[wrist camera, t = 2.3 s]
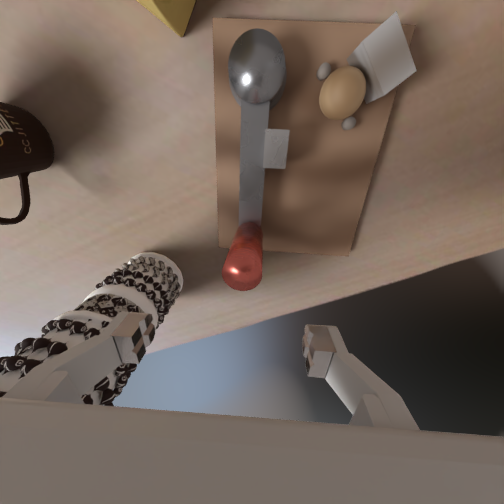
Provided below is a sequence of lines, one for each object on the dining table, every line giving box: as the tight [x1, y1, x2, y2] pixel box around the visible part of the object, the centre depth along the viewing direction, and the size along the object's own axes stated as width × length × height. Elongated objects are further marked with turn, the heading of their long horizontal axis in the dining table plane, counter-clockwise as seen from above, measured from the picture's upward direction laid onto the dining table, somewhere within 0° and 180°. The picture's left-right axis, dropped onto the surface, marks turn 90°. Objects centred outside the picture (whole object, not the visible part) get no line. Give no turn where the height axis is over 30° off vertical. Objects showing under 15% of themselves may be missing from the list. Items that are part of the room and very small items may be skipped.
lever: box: [222, 28, 290, 291], centre depth 16 cm, size 18×5×9 cm, turn 177°
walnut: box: [319, 66, 366, 120], centre depth 17 cm, size 4×4×4 cm
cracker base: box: [213, 11, 417, 256], centre depth 20 cm, size 21×16×4 cm
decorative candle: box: [0, 252, 184, 406], centre depth 19 cm, size 9×9×25 cm
